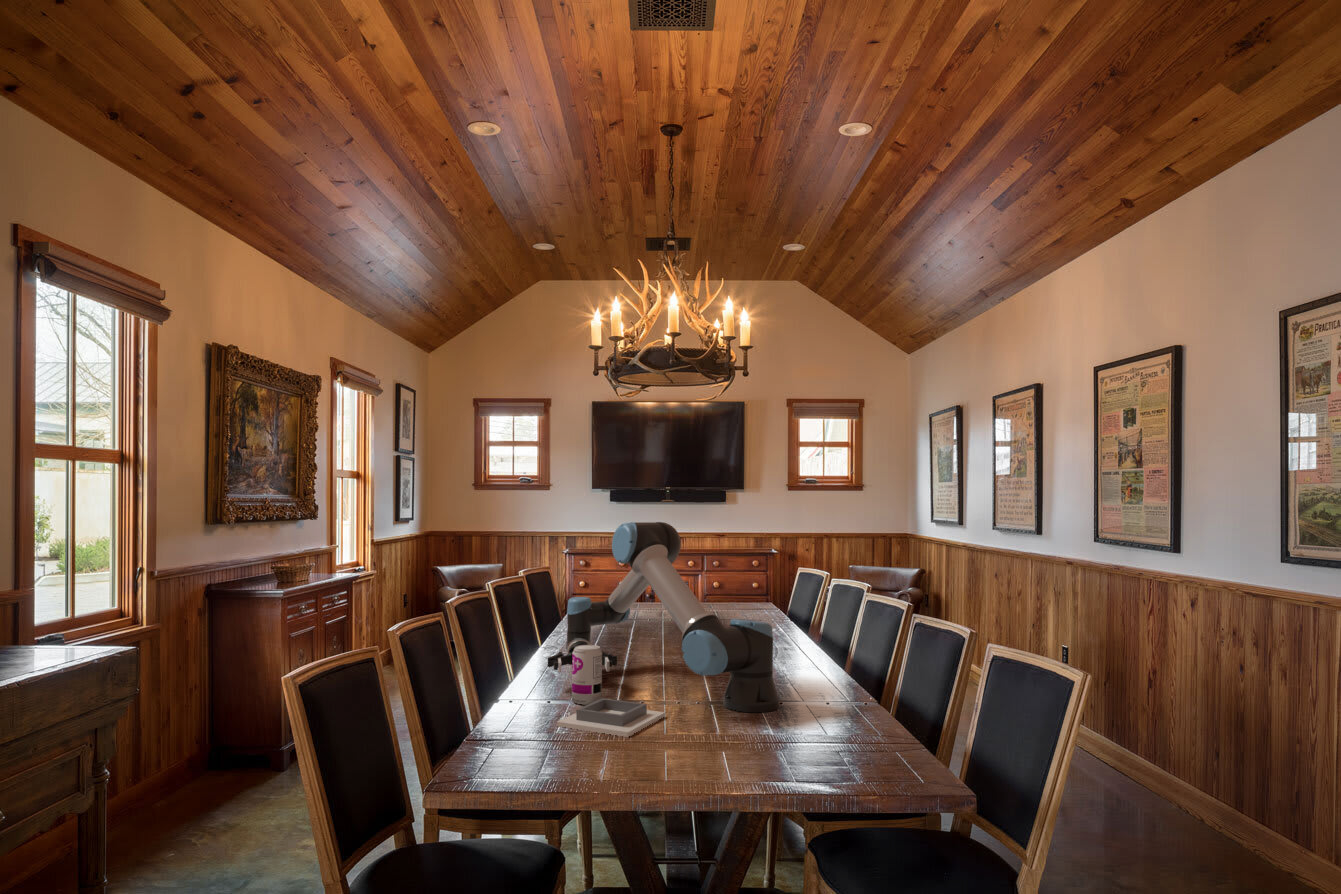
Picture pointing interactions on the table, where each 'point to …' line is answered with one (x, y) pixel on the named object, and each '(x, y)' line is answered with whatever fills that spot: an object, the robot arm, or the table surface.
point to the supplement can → (586, 674)
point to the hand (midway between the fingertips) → (584, 667)
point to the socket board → (612, 717)
